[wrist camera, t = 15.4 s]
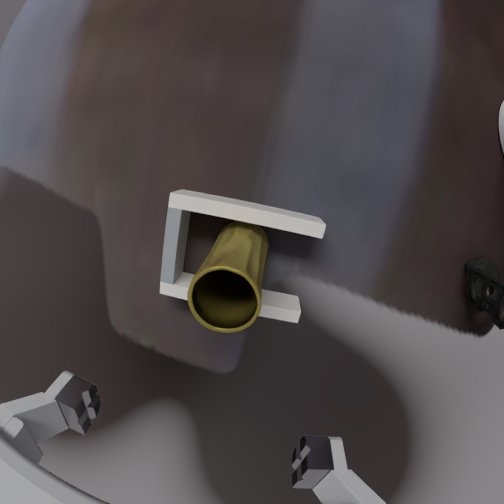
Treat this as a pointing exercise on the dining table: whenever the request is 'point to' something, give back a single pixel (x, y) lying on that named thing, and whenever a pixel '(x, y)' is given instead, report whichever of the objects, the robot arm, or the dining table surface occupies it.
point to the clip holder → (187, 201)
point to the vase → (230, 279)
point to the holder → (485, 289)
